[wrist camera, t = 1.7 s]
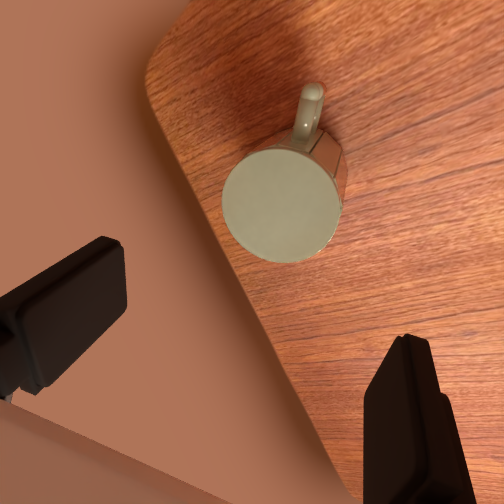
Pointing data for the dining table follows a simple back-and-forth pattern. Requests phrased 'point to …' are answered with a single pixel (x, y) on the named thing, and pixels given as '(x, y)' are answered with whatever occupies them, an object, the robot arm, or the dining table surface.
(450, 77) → the dining table surface
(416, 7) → the dining table surface
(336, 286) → the dining table surface
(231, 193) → the cup
